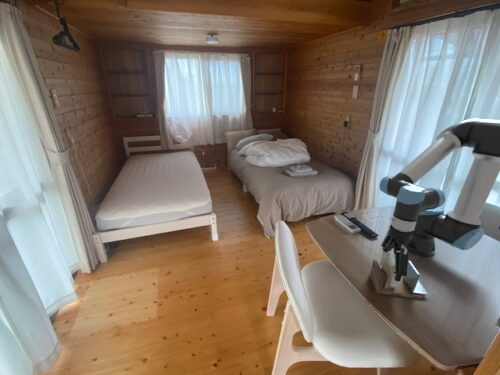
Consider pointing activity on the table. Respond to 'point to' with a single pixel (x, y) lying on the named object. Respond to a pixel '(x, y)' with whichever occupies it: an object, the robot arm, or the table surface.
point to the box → (388, 271)
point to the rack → (402, 290)
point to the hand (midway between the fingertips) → (388, 274)
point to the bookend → (413, 280)
